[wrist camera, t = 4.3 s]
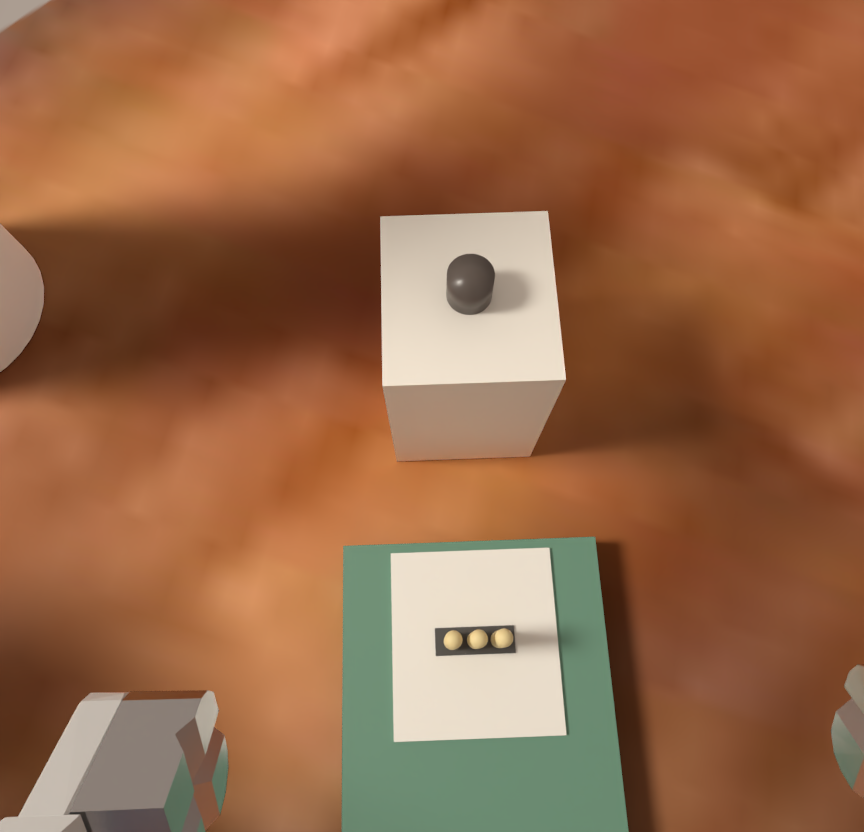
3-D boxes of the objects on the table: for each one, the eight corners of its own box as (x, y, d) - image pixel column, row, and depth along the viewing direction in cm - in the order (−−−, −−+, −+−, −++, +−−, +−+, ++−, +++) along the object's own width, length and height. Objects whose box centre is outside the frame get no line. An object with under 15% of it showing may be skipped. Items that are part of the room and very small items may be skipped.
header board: (627, 895, 20) (663, 939, 17) (345, 906, 20) (328, 953, 16) (588, 541, 23) (612, 523, 20) (347, 550, 23) (333, 533, 20)
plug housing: (529, 456, 24) (573, 364, 16) (396, 461, 24) (379, 370, 16) (518, 326, 26) (554, 187, 18) (394, 330, 26) (377, 193, 18)
